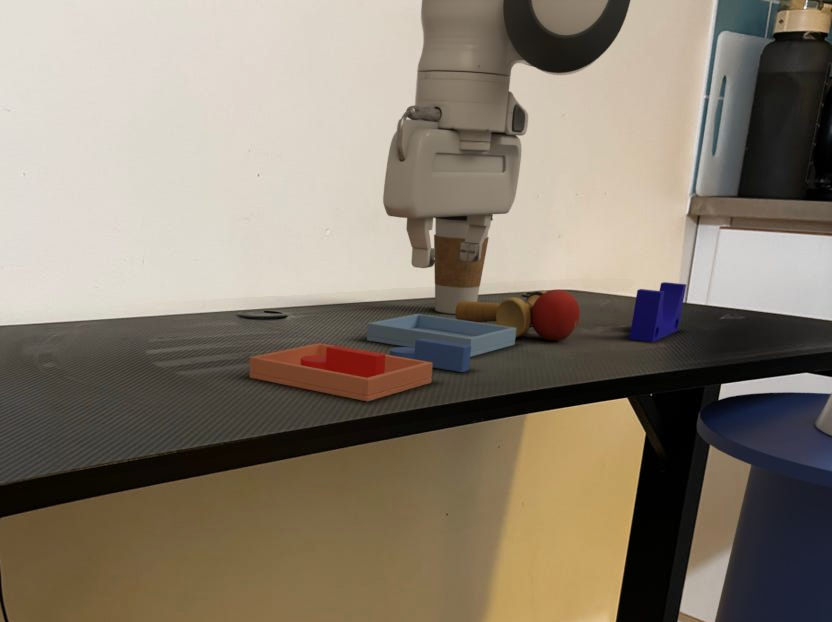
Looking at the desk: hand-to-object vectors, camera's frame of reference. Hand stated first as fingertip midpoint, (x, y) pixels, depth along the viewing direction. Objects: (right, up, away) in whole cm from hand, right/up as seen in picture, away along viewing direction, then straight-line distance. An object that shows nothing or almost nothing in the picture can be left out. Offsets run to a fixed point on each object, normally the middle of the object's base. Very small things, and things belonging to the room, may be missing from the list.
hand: (446, 264), depth 98 cm
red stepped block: (-11, -12, -3) cm, 17 cm away
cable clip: (+30, +2, +30) cm, 42 cm away
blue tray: (+1, -2, +18) cm, 18 cm away
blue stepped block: (-2, -9, +5) cm, 10 cm away
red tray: (-11, -13, -3) cm, 17 cm away
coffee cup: (+5, +9, +42) cm, 43 cm away
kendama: (+11, +1, +26) cm, 28 cm away
